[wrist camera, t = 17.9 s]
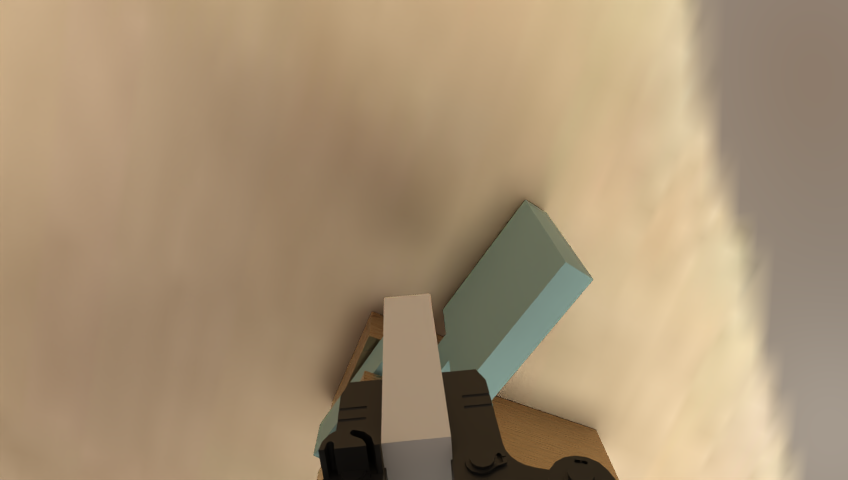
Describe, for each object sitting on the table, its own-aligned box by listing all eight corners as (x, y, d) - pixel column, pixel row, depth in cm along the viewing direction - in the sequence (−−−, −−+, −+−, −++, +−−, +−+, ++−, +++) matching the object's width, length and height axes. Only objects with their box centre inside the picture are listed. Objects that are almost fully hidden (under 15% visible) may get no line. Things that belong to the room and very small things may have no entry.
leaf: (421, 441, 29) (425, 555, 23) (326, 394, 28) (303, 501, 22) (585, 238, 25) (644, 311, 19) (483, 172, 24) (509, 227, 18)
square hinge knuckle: (332, 401, 29) (310, 514, 22) (371, 311, 27) (360, 406, 20) (565, 475, 31) (607, 597, 24) (617, 397, 29) (677, 507, 22)
